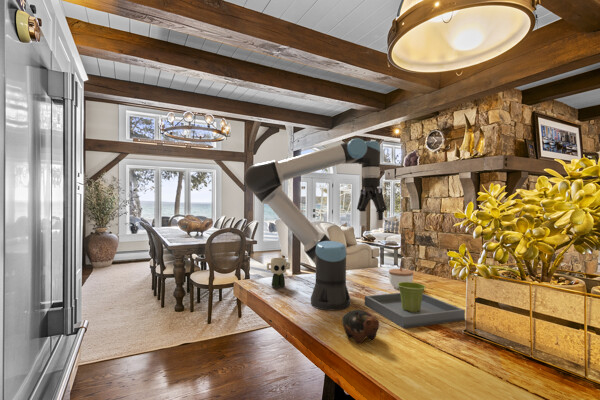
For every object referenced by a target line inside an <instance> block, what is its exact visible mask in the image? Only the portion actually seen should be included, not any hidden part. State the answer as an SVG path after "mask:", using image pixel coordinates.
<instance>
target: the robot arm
mask: <svg viewBox="0 0 600 400" xmlns="http://www.w3.org/2000/svg"><path fill="white" fill-rule="evenodd" d="M341 164H342V165H344V164H347V165H348V164H351V165H352V164H356V165H357V164H359V165H360V164H361V169H362V170H361V177H362V179H361V185H362V187H363V188H364V189H363V188H362V189H360V194H359V200H358V203H357V207H356V210H357V211H359V226H360V227H366V226H367V206H368V204H369V202H370V201H372V202H373V205H374V207H375V209H376V211H375V228H376V229H384V227H383V226H384V225H383V224H384V221H383V220H384V212H385V211H387V210H388V209H387V206H386V202H385V198H384V194H383V188H382V187H380V186H381V179H380V176H381V145H380V142H379V141H376V140H367V141H365V140H364V139H362V138H358V137H355V138H353V139H351V140H349V141H346V142H343V143H339V144H336V145H332V146H327V147H325V148H322V149H319V150H314V151H311V152H308V153H303V154H301V155H297V156H294V157H289V158H286V159H282V160H280V161H278V160H276V159H273V160H270V161H264V162H260V163H256V164H253V165H251V166H249V167H248V168H247V169H246V171H245V173H244V176H243V181H244V185H245V186H246V188H247V190H249V191H250V192H252V193H253V195H254V196H255V197H256V198H257V199H258V200H259V201H260V202H261V204H267V205H268V206H269V208H270V209H271V210H272V211H273V212H274V213H275V214H276V216H278V218H279V219H280V220H281V221H282V222H283V224H284V225H285V226H286V227H287V228H288V229H289V230H290V232H291V233H293V235H294V236H295V237H296V238H297V239H298V241H300V243H301V244H302V245H303V251H304V253H305V254H306V255H307V256H308V258H309V259H310V260H311V261H312V262H313V263H314V265H315V284H314V287H313V290H312V293H311V296H310V305H312V307H314V308H317V309H320V310H328V311H336V310H337V311H338V310H345V309H347V308H350V307H351V296H350V293H349V291H348V287H347V254H348V253H347V247H346V245H345V243H342V242H339V241H336V240H331V239H330V238H329V236H328V235H327V234H326V233H324V232H319V230H318V229H317V228H316V227H315V226H314V225H313V224H312V223H311V221H310V220H309V219H308V218H307V216H306V215H305V214H303V212H302V211H301V210H300V208H298V207H297V205H296V204H295V203H294V202H293V201H292V200H291V198H290V197H289V196H288V195H287V194H286V193H285V191H284V189H283V183H284V181H287V180H290V179H295V178H297V177H301V176H305V175H308V174H312V173H315V172H318V171H321V170H325V169H327V168H332V167H335V166H338V165H341Z"/></svg>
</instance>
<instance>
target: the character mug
mask: <svg viewBox="0 0 600 400" xmlns="http://www.w3.org/2000/svg"><path fill="white" fill-rule="evenodd" d="M290 269H291V262H289V261H287V258H286V257H272V258H270V262H267V263H266V270H267V271H270V272H271V273H272V274H273V275H272V278H271V279H272V280H271V287H272V288H284V287H286V280H285V273H286V272H287V270H290Z"/></svg>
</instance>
